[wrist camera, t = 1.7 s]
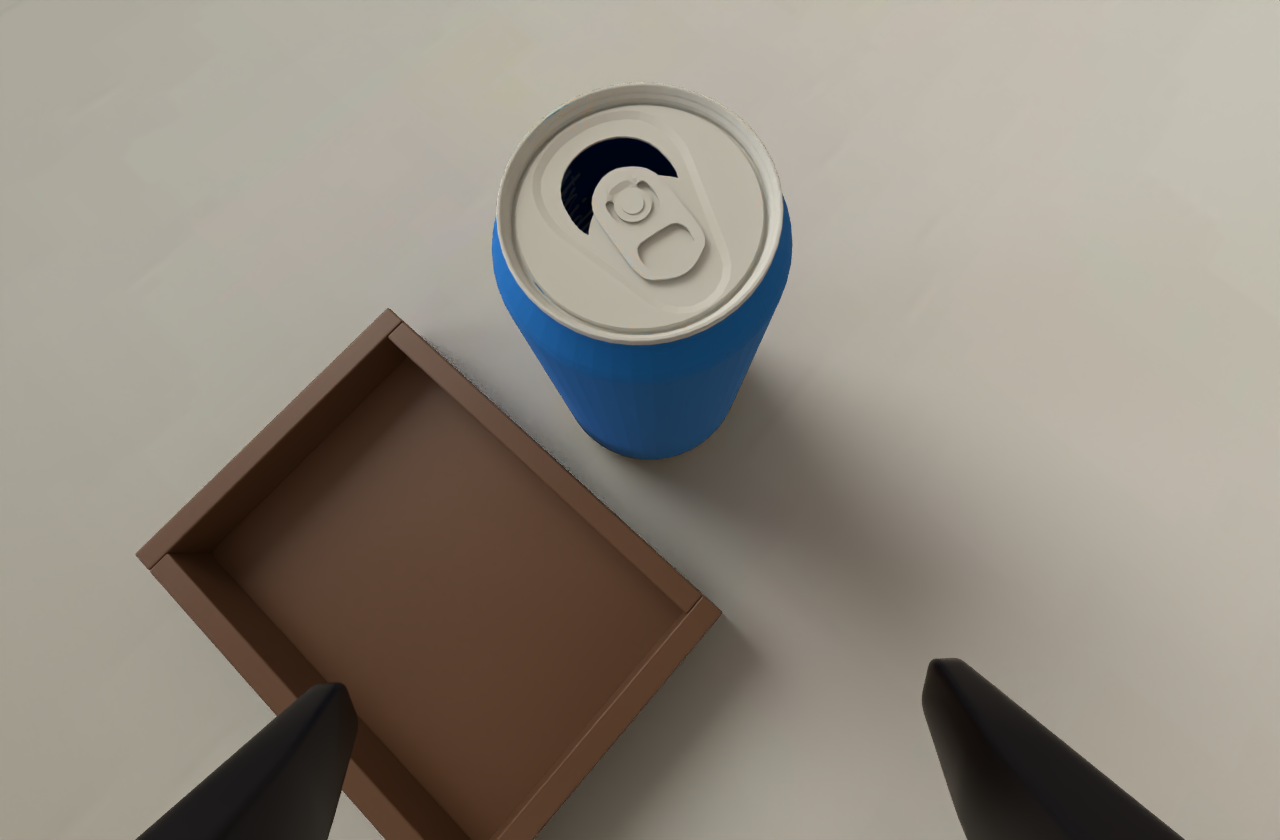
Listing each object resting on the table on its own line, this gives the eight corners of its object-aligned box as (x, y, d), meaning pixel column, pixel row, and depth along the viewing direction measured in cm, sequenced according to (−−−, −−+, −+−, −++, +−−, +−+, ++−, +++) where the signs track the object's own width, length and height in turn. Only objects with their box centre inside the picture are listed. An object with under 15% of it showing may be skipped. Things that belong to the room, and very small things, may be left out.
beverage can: (671, 271, 25) (679, 11, 13) (768, 400, 23) (876, 240, 12) (535, 359, 24) (413, 171, 12) (627, 496, 23) (590, 432, 11)
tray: (715, 606, 22) (723, 612, 19) (486, 879, 20) (460, 926, 18) (416, 332, 24) (387, 306, 22) (192, 554, 23) (133, 554, 20)
